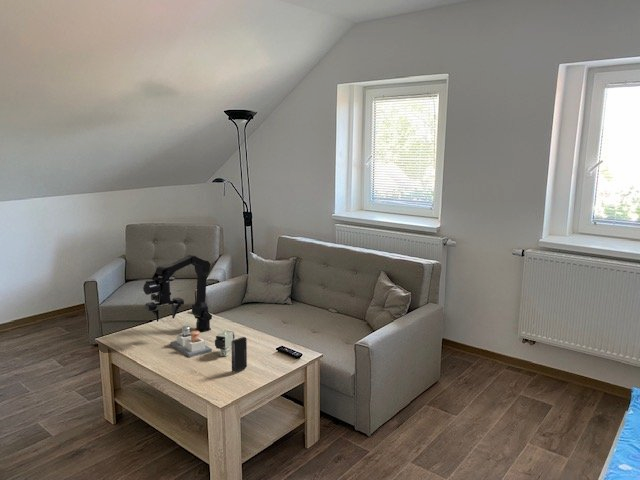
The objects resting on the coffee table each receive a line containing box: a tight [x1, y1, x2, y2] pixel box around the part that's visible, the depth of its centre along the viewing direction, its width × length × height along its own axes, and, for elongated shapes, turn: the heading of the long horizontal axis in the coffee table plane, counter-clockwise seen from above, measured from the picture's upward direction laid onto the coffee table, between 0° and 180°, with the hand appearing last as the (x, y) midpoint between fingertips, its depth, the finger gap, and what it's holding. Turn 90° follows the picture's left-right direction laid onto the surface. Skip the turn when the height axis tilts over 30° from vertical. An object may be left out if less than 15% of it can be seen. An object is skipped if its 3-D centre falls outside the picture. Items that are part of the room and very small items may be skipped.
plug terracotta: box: [190, 330, 201, 343], centre depth 247 cm, size 5×5×5 cm
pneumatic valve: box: [214, 330, 236, 358], centre depth 243 cm, size 6×12×12 cm, turn 161°
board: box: [169, 333, 213, 358], centre depth 252 cm, size 12×22×6 cm, turn 40°
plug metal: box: [180, 325, 191, 337], centre depth 255 cm, size 5×5×5 cm
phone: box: [230, 336, 248, 373], centre depth 225 cm, size 8×1×15 cm, turn 138°
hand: (165, 319), depth 256 cm, fingers open, 8 cm apart
